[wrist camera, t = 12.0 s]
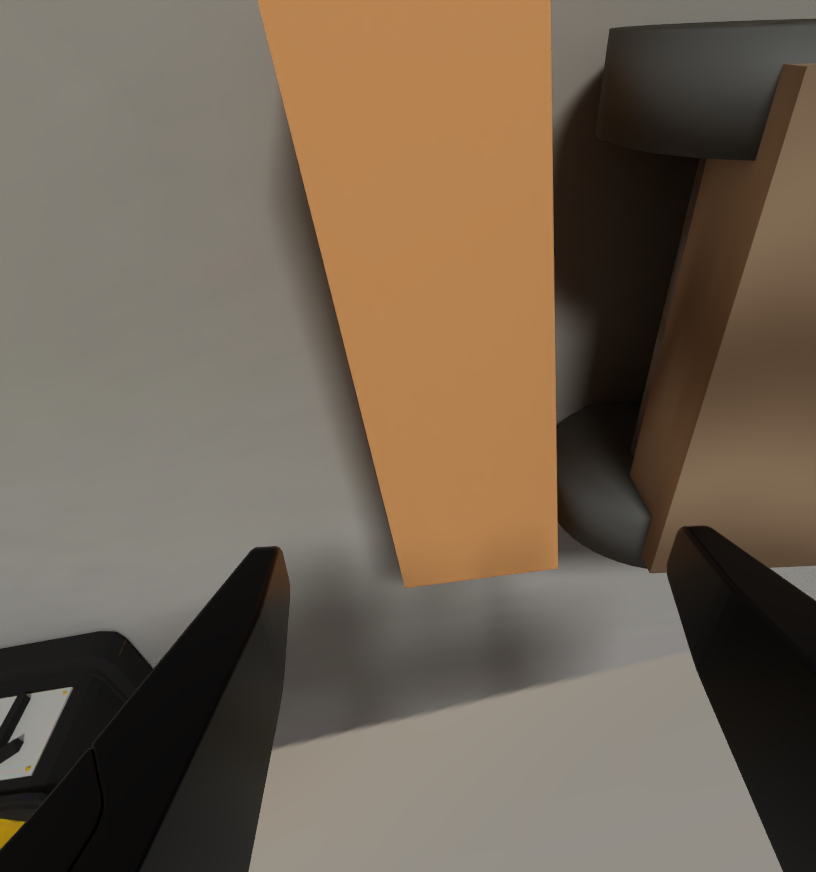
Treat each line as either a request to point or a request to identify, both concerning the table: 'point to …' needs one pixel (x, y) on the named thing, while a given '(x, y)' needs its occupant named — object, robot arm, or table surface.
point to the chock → (438, 259)
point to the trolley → (714, 304)
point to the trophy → (56, 712)
